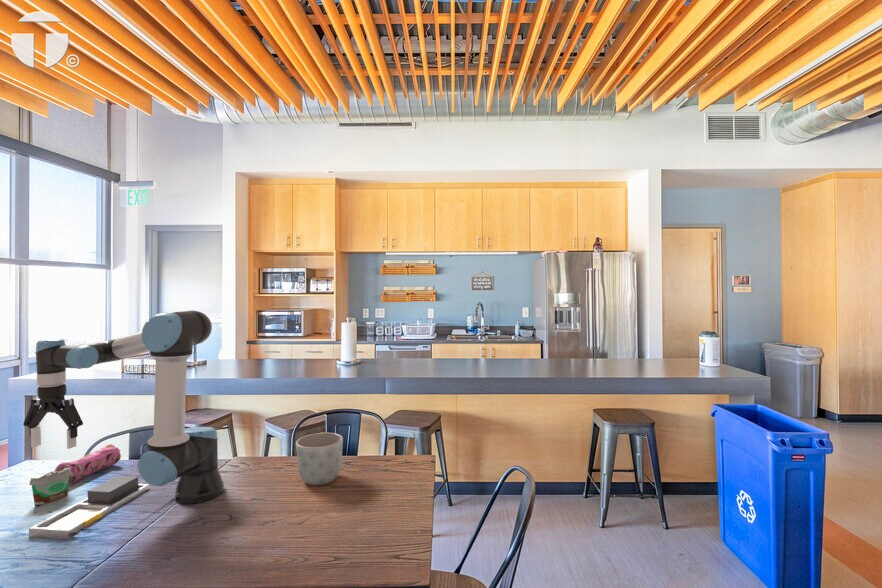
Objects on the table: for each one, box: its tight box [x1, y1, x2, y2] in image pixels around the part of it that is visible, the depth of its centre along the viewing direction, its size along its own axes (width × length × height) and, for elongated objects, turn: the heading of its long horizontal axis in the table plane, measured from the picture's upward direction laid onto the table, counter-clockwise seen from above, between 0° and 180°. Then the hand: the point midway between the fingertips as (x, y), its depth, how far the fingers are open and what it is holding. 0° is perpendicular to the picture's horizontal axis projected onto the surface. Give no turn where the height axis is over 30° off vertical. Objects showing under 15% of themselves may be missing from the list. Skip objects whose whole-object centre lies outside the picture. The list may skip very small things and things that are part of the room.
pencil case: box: [54, 443, 122, 486], centre depth 179 cm, size 21×9×9 cm, turn 169°
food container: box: [29, 465, 72, 508], centre depth 157 cm, size 12×6×10 cm, turn 168°
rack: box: [28, 483, 150, 540], centre depth 149 cm, size 14×31×3 cm, turn 173°
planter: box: [295, 432, 344, 486], centre depth 171 cm, size 17×17×15 cm
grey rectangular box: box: [87, 475, 139, 504], centre depth 157 cm, size 8×12×5 cm, turn 173°
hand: (53, 446), depth 157 cm, fingers open, 13 cm apart
